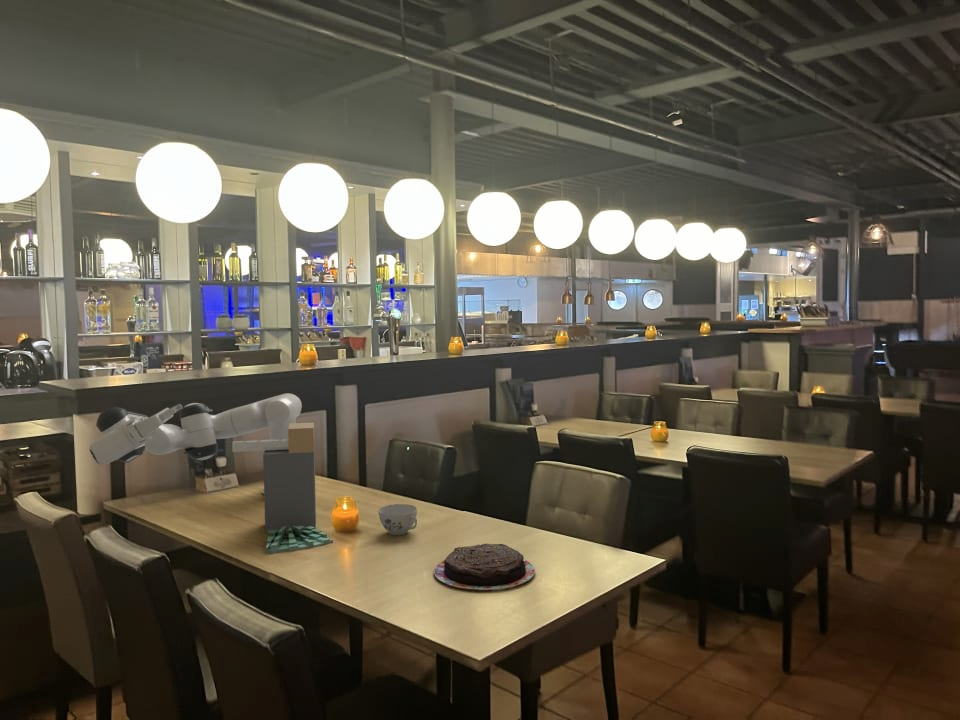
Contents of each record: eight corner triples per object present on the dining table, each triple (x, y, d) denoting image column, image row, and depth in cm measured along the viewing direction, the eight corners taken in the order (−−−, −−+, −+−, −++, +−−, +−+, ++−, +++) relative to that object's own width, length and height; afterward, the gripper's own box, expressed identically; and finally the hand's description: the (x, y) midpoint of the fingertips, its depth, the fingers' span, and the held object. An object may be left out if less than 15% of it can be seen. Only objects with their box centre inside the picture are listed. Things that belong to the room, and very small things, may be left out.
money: (303, 533, 242) (303, 518, 242) (334, 543, 231) (333, 528, 231) (248, 547, 228) (248, 532, 227) (278, 559, 217) (277, 543, 216)
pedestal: (268, 522, 252) (265, 424, 250) (316, 519, 256) (313, 422, 253) (265, 533, 241) (262, 429, 238) (315, 530, 244) (313, 428, 241)
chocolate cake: (447, 599, 186) (446, 574, 186) (424, 562, 213) (423, 540, 212) (550, 587, 194) (550, 562, 194) (515, 553, 221) (515, 531, 220)
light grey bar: (233, 450, 244) (233, 441, 244) (308, 447, 249) (307, 438, 249) (232, 452, 241) (232, 442, 241) (307, 448, 246) (307, 439, 246)
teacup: (370, 533, 240) (370, 509, 239) (399, 524, 249) (398, 501, 249) (401, 542, 230) (401, 517, 229) (430, 533, 239) (430, 509, 239)
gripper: (152, 433, 248) (189, 411, 250) (137, 444, 228) (177, 420, 230) (141, 417, 247) (179, 395, 249) (125, 426, 227) (166, 403, 229)
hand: (178, 407), depth 240 cm, fingers open, 8 cm apart
